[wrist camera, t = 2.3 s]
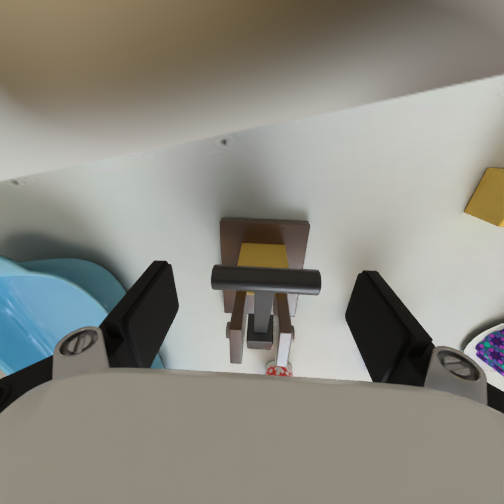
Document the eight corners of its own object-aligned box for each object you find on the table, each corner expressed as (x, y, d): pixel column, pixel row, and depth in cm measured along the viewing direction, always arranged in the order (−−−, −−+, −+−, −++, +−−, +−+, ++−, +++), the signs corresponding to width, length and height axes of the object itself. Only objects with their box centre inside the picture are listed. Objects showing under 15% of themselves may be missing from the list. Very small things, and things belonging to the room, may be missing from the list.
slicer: (221, 217, 25) (190, 278, 15) (308, 220, 25) (338, 286, 14) (225, 306, 32) (206, 391, 22) (293, 310, 31) (307, 398, 21)
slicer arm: (215, 251, 12) (207, 292, 10) (318, 256, 11) (324, 299, 10) (232, 321, 21) (229, 347, 20) (287, 324, 21) (288, 351, 20)
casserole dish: (-43, 238, 28) (-129, 268, 22) (112, 221, 26) (63, 250, 20) (93, 391, 46) (66, 432, 40) (192, 390, 44) (180, 433, 38)
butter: (241, 242, 25) (236, 266, 21) (284, 244, 25) (289, 268, 21) (241, 267, 27) (237, 294, 22) (282, 269, 27) (285, 297, 22)
